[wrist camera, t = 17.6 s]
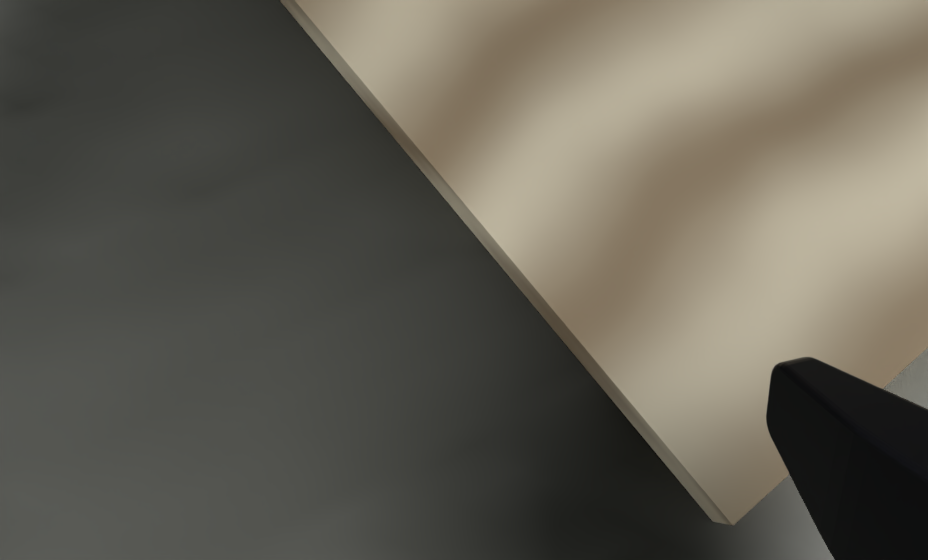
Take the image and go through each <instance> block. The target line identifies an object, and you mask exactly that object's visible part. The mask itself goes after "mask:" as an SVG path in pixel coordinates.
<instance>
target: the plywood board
mask: <svg viewBox="0 0 928 560" xmlns="http://www.w3.org/2000/svg"><path fill="white" fill-rule="evenodd" d="M280 1H281V3H282V4H283V5H284V6H285V7H286V9H287V10H288V11H289V12H290V13H291V15H292V16H293V17H294V18H295V19H296V21H297V22H298V23H299V24H300V25H301V27H302V28H303V29H304V30H305V31H306V33H307V34H308V35H309V36H310V37H311V39H312V40H313V41H314V42H315V43H316V45H317V46H318V47H319V48H320V49H321V51H322V52H323V53H324V54H325V56H326V57H327V58H328V59H329V60H330V62H331V63H332V64H333V65H334V66H335V68H336V69H337V70H338V71H339V72H340V74H341V75H342V76H343V77H344V78H345V80H346V81H347V82H348V83H349V84H350V86H351V87H352V88H353V89H354V90H355V92H356V93H357V94H358V95H359V96H360V98H361V99H362V100H363V101H364V102H365V104H366V105H367V106H368V107H369V108H370V110H371V111H372V112H373V113H374V114H375V116H376V117H377V118H378V119H379V120H380V122H381V123H382V124H383V125H384V126H385V128H386V129H387V130H388V131H389V133H390V134H391V135H392V136H393V137H394V139H395V140H396V141H397V142H398V143H399V145H400V146H401V147H402V148H403V149H404V151H405V152H406V153H407V154H408V155H409V157H410V158H411V159H412V160H413V161H414V163H415V164H416V165H417V166H418V167H419V169H420V170H421V171H422V172H423V173H424V175H425V176H426V177H427V178H428V179H429V181H430V182H431V183H432V184H433V185H434V187H435V188H436V189H437V190H438V191H439V193H440V194H441V195H442V196H443V197H444V199H445V200H446V201H447V202H448V203H449V205H450V206H451V207H452V208H453V210H454V211H455V212H456V213H457V214H458V216H459V217H460V218H461V219H462V220H463V222H464V223H465V224H466V225H467V226H468V228H469V229H470V230H471V231H472V232H473V234H474V235H475V236H476V237H477V238H478V240H479V241H480V242H481V243H482V244H483V246H484V247H485V248H486V249H487V250H488V252H489V253H490V254H491V255H492V256H493V258H494V259H495V260H496V261H497V262H498V264H499V265H500V266H501V267H502V268H503V270H504V271H505V272H506V273H507V274H508V276H509V277H510V278H511V279H512V280H513V282H514V283H515V284H516V285H517V287H518V288H519V289H520V290H521V291H522V293H523V294H524V295H525V296H526V297H527V299H528V300H529V301H530V302H531V303H532V305H533V306H534V307H535V308H536V309H537V311H538V312H539V313H540V314H541V315H542V317H543V318H544V319H545V320H546V321H547V323H548V324H549V325H550V326H551V327H552V329H553V330H554V331H555V332H556V333H557V335H558V336H559V337H560V338H561V339H562V341H563V342H564V343H565V344H566V345H567V347H568V348H569V349H570V350H571V351H572V353H573V354H574V355H575V356H576V357H577V359H578V360H579V361H580V362H581V364H582V365H583V366H584V367H585V368H586V370H587V371H588V372H589V373H590V374H591V376H592V377H593V378H594V379H595V380H596V382H597V383H598V384H599V385H600V386H601V388H602V389H603V390H604V391H605V392H606V394H607V395H608V396H609V397H610V398H611V400H612V401H613V402H614V403H615V404H616V406H617V407H618V408H619V409H620V410H621V412H622V413H623V414H624V415H625V416H626V418H627V419H628V420H629V421H630V422H631V424H632V425H633V426H634V427H635V428H636V430H637V431H638V432H639V433H640V434H641V436H642V437H643V438H644V439H645V441H646V442H647V443H648V444H649V445H650V447H651V448H652V449H653V450H654V451H655V453H656V454H657V455H658V456H659V457H660V459H661V460H662V461H663V462H664V463H665V465H666V466H667V467H668V468H669V469H670V471H671V472H672V473H673V474H674V475H675V477H676V478H677V479H678V480H679V481H680V483H681V484H682V485H683V486H684V487H685V489H686V490H687V491H688V492H689V493H690V495H691V496H692V497H693V498H694V499H695V501H696V502H697V503H698V504H699V505H700V507H701V508H702V509H703V510H704V512H705V513H706V514H707V515H708V516H709V518H710V519H711V520H712V521H713V522H718V523H723V524H727V525H732V526H733V525H734V524H736V523H737V522H738V521H739V520H740V519H741V518H742V517H743V516H744V515H745V514H746V513H748V512H749V511H750V510H751V509H752V508H753V507H754V506H755V505H756V504H757V503H758V502H760V501H761V500H762V499H763V498H764V497H765V496H766V495H767V494H768V493H769V492H770V491H772V490H773V489H774V488H775V487H776V486H777V485H778V484H779V483H780V482H781V481H782V480H784V479H785V478H786V477H787V476H788V475H789V472H788V470H787V468H786V466H785V464H784V462H783V460H782V458H781V456H780V454H779V452H778V450H777V448H776V446H775V444H774V442H773V440H772V438H771V436H770V434H769V431H768V427H767V422H766V411H767V403H768V395H769V386H770V378H771V372H772V369H773V368H774V366H775V365H776V364H778V363H780V362H783V361H788V360H792V359H797V358H801V357H812V358H815V359H818V360H820V361H822V362H825V363H827V364H829V365H831V366H833V367H836V368H838V369H840V370H842V371H844V372H847V373H849V374H851V375H853V376H855V377H858V378H860V379H862V380H864V381H866V382H869V383H871V384H873V385H875V386H877V387H880V388H882V389H883V388H884V387H885V386H886V385H887V384H888V383H889V382H891V381H892V380H893V379H894V378H895V377H896V376H897V375H898V374H899V373H900V372H901V371H903V370H904V369H905V368H906V367H907V366H908V365H909V364H910V363H911V362H912V361H913V360H915V359H916V358H917V357H918V356H919V355H920V354H921V353H922V352H923V351H924V350H925V349H927V348H928V0H280Z"/></svg>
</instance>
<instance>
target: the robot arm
mask: <svg viewBox="0 0 928 560" xmlns="http://www.w3.org/2000/svg"><path fill="white" fill-rule="evenodd" d="M766 422H767V427H768V431H769V434H770V436H771V438H772V440H773V442H774V444H775V446H776V448H777V450H778V452H779V454H780V456H781V458H782V460H783V462H784V464H785V466H786V468H787V470H788V472H789V474H790V476H791V478H792V480H793V482H794V484H795V486H796V487H797V489H798V491H799V493H800V495H801V497H802V499H803V501H804V503H805V505H806V507H807V509H808V511H809V513H810V515H811V517H812V519H813V521H814V523H815V525H816V527H817V529H818V531H819V533H820V534H821V536H822V538H823V540H824V542H825V544H826V545H827V547H828V549H829V551H830V553H831V554H832V556H833V557H834V559H835V560H928V409H926V408H924V407H921V406H919V405H917V404H915V403H913V402H910V401H908V400H906V399H904V398H902V397H899V396H897V395H895V394H893V393H891V392H888V391H886V390H884V389H882V388H880V387H877V386H875V385H873V384H871V383H869V382H866V381H864V380H862V379H860V378H858V377H855V376H853V375H851V374H849V373H847V372H844V371H842V370H840V369H838V368H836V367H833V366H831V365H829V364H827V363H825V362H822V361H820V360H818V359H815V358H812V357H801V358H797V359H792V360H788V361H783V362H780V363H778V364H776V365H775V366H774V368H773V369H772V372H771V378H770V386H769V395H768V403H767V411H766Z"/></svg>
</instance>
